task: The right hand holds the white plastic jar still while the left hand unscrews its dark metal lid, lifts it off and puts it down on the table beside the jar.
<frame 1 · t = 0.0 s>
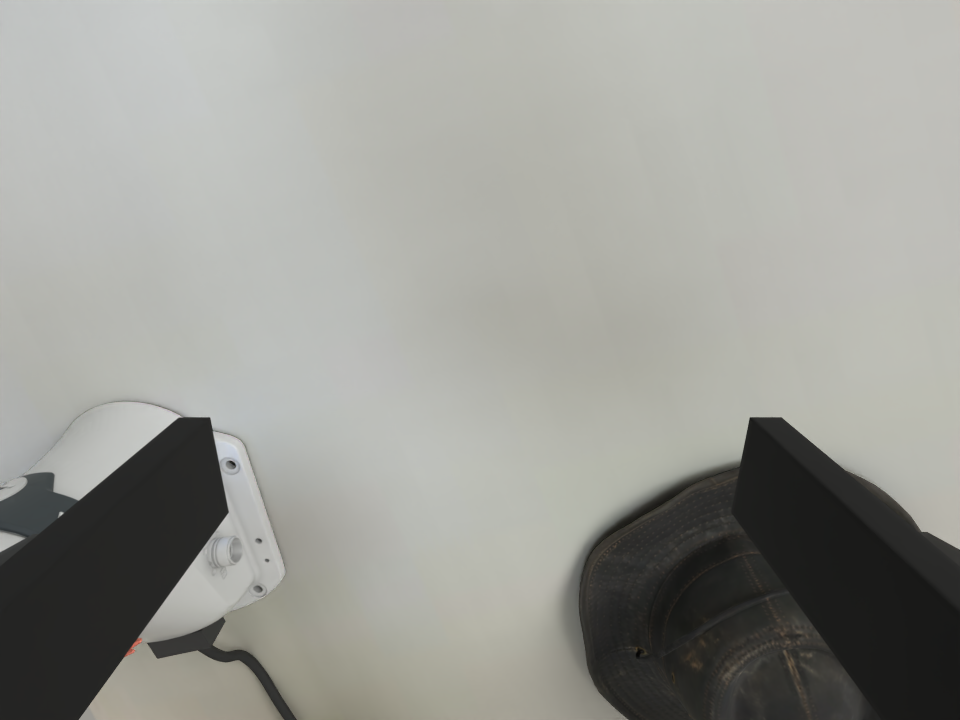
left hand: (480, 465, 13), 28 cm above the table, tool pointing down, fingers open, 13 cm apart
hat: (743, 612, 51), on the table
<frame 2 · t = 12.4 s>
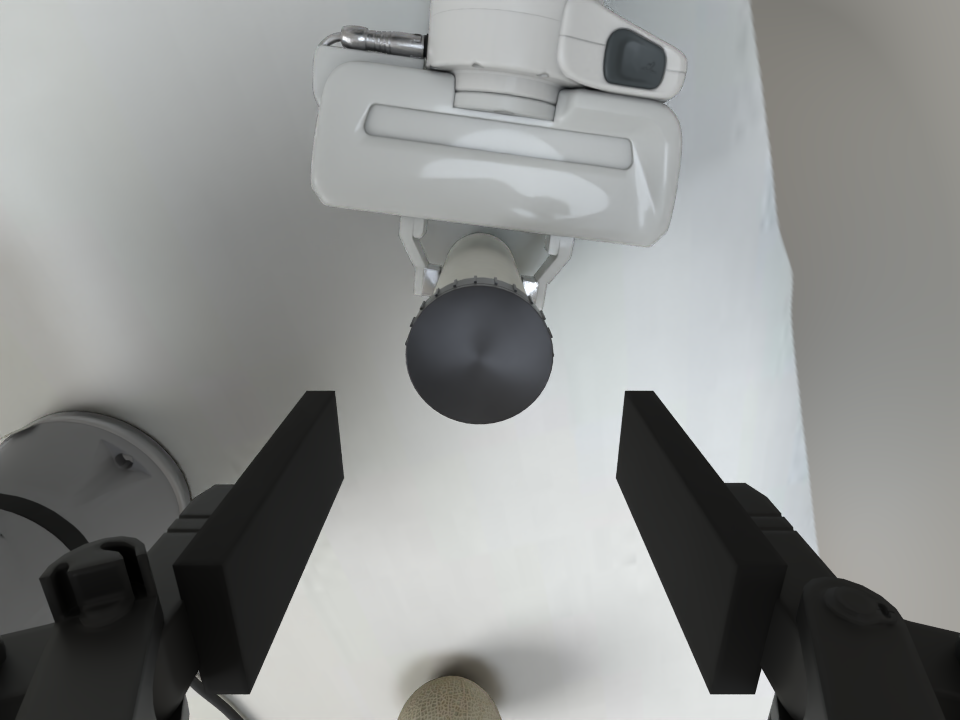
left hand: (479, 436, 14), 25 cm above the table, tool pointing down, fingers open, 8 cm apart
right hand: (478, 301, 32), fingers closed on jar, 5 cm apart
fruit: (450, 691, 53), on the table
lid: (479, 355, 21), point 19 cm above the table, screwed on, not yet turned
jar: (479, 268, 38), on the table, touching right hand
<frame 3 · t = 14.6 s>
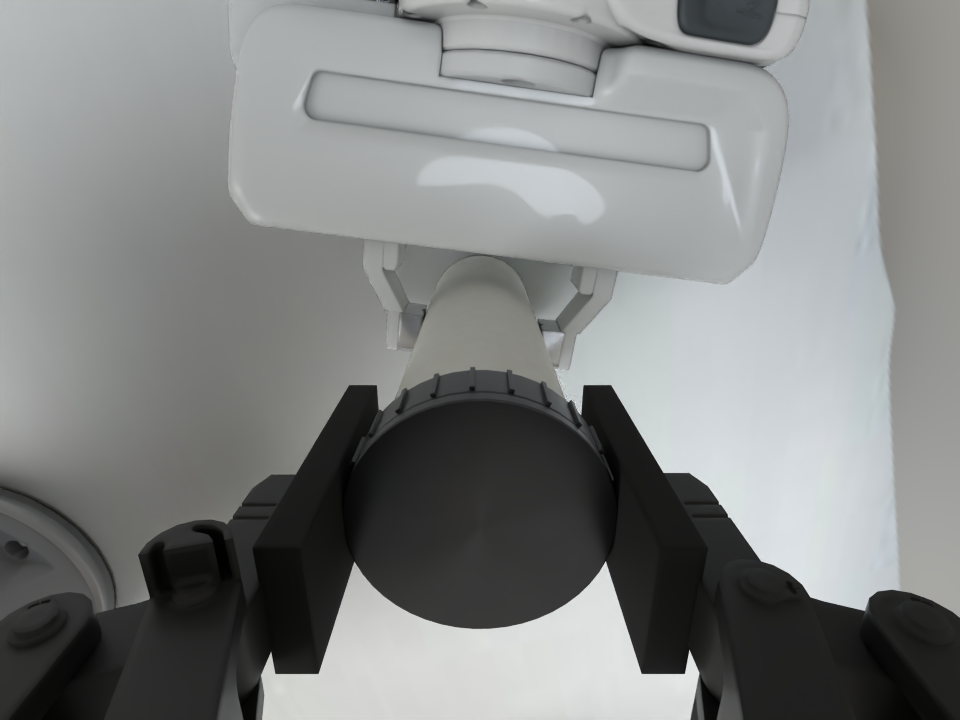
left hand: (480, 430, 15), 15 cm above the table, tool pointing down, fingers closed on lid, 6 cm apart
right hand: (478, 356, 23), fingers closed on jar, 5 cm apart
lid: (480, 514, 11), point 19 cm above the table, screwed on, not yet turned, touching left hand
jar: (480, 301, 29), on the table, touching right hand
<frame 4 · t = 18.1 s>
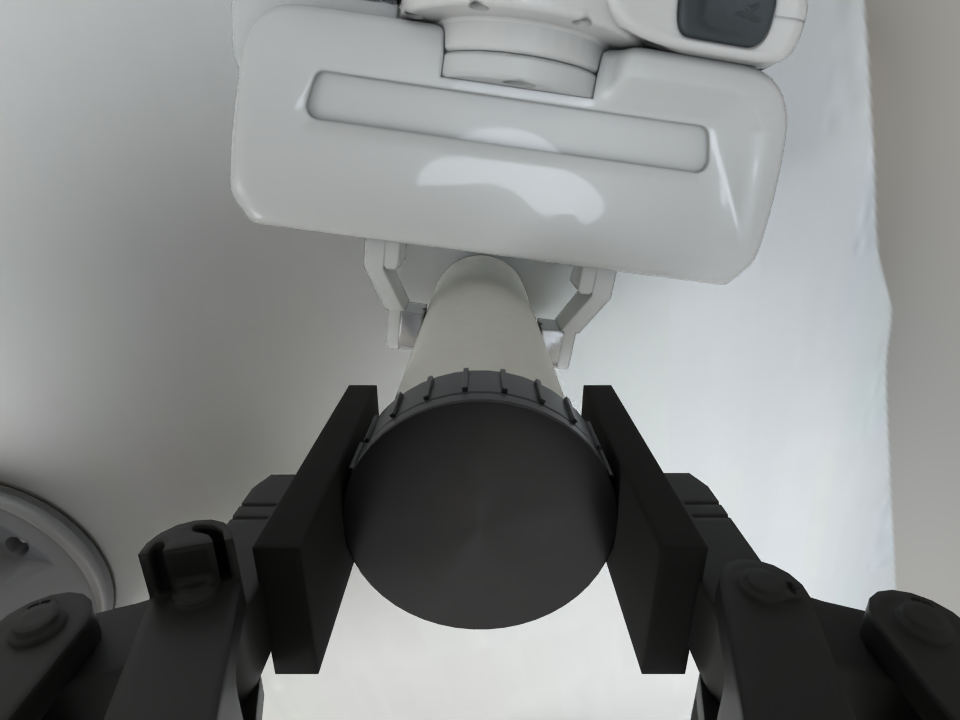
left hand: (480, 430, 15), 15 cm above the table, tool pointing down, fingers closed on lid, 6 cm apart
right hand: (478, 354, 23), fingers closed on jar, 5 cm apart
lid: (480, 514, 11), point 19 cm above the table, turned 97° so far, risen 0.2 cm, still on its thread, touching left hand
jar: (480, 301, 29), on the table, touching right hand
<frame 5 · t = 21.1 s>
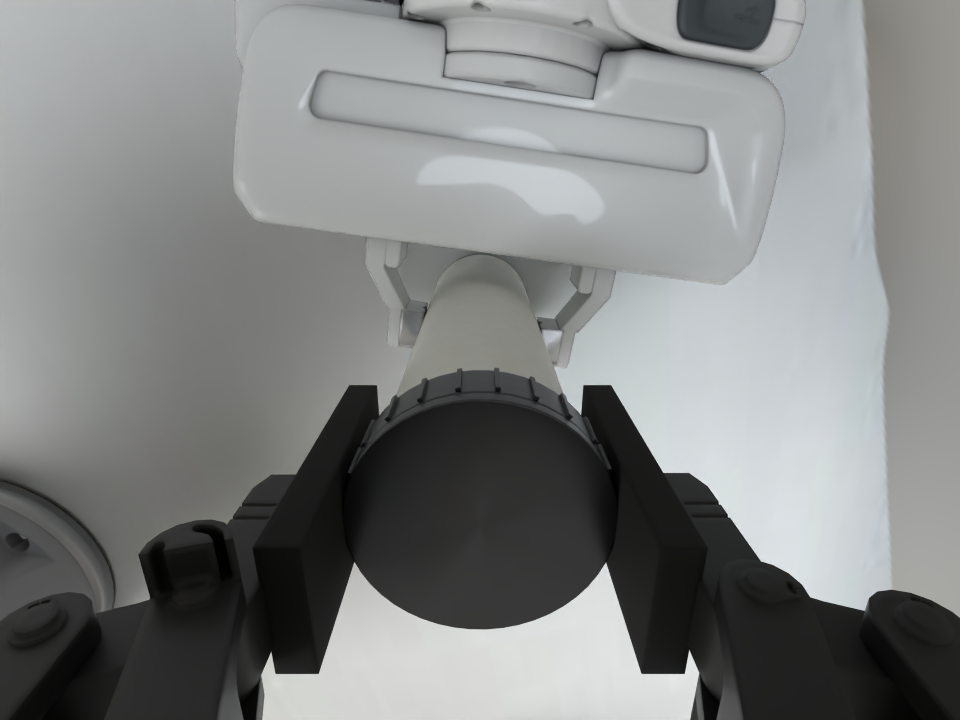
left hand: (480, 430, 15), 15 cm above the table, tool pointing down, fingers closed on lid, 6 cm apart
right hand: (478, 353, 23), fingers closed on jar, 5 cm apart
lid: (480, 514, 11), point 19 cm above the table, turned 194° so far, risen 0.3 cm, still on its thread, touching left hand
jar: (480, 300, 29), on the table, touching right hand
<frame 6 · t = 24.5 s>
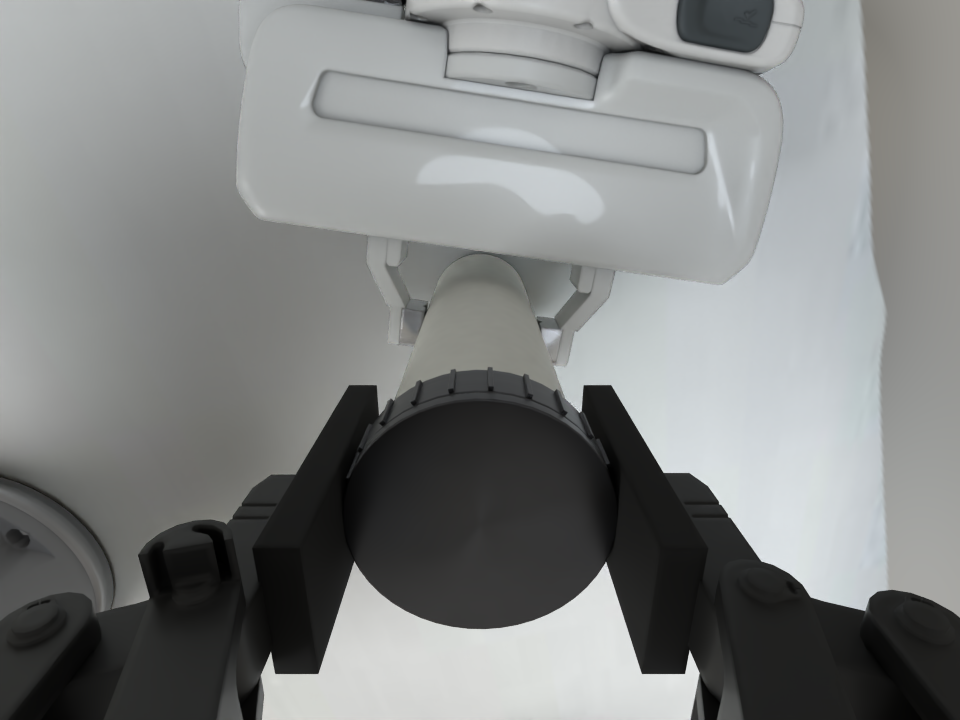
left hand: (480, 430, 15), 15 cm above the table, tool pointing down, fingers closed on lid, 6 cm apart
right hand: (478, 351, 24), fingers closed on jar, 5 cm apart
lid: (480, 514, 11), point 19 cm above the table, turned 291° so far, risen 0.5 cm, still on its thread, touching left hand
jar: (480, 299, 29), on the table, touching right hand
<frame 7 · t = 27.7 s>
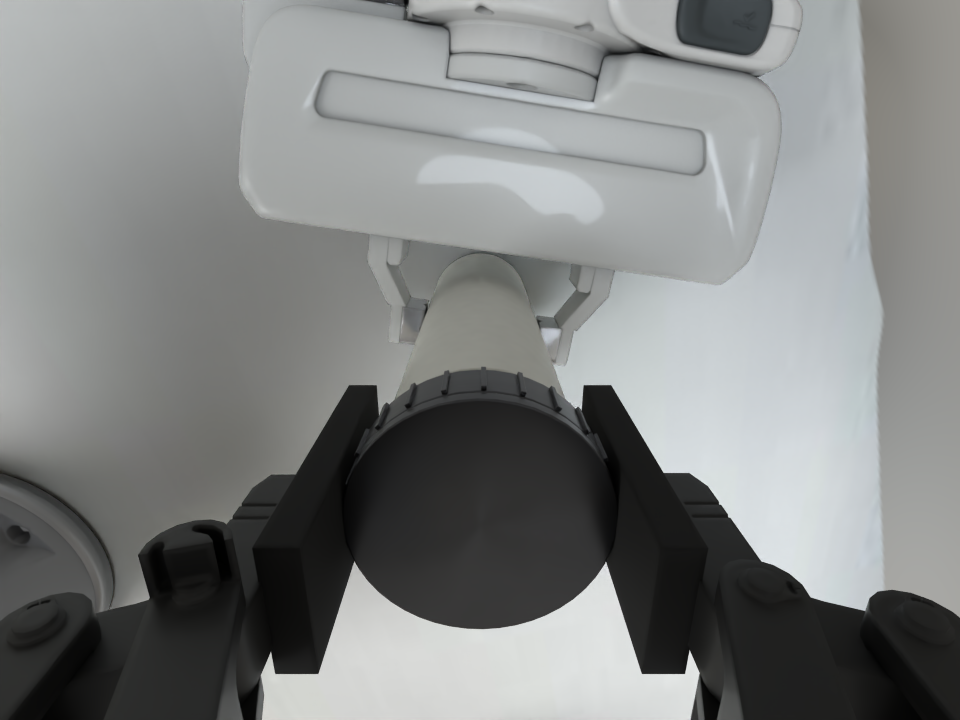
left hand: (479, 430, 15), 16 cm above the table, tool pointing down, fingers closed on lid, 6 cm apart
right hand: (478, 350, 24), fingers closed on jar, 5 cm apart
lid: (480, 514, 11), point 19 cm above the table, turned 388° so far, risen 0.7 cm, still on its thread, touching left hand
jar: (480, 298, 29), on the table, touching right hand
when the left hand's fingers open (0 cm above the table, at t = 36.1 s): lid drops 3 cm, point 1 cm above the table.
when the right hand's fingers open (6 cm above the table, at t = 36.9 s): jar stays where it is, on the table.
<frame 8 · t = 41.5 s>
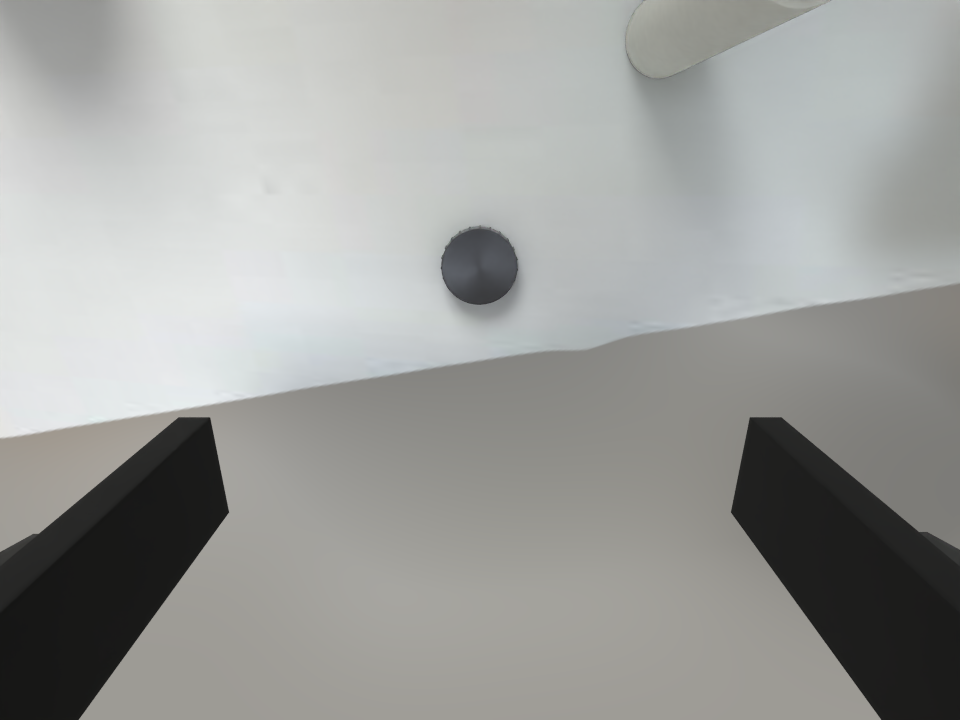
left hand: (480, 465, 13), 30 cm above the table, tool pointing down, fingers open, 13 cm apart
lid: (479, 266, 40), point 1 cm above the table, off its thread
jar: (662, 36, 36), on the table
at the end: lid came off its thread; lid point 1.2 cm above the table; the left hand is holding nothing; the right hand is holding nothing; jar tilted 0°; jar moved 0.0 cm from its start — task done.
